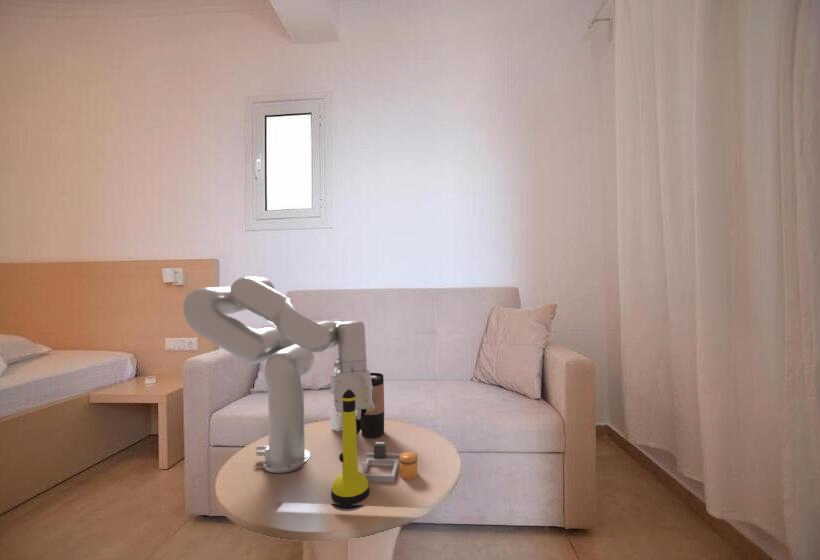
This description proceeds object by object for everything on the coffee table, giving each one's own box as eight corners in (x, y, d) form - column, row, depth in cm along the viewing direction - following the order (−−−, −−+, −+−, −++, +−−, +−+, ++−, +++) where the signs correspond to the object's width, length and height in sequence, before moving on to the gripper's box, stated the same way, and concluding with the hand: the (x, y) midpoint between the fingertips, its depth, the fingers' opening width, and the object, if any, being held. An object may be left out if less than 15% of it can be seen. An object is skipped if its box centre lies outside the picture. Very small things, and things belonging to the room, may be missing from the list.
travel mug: (364, 432, 118) (363, 372, 119) (386, 433, 117) (385, 372, 118) (358, 442, 111) (357, 378, 111) (381, 443, 110) (380, 378, 110)
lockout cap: (398, 484, 87) (398, 460, 87) (401, 474, 91) (400, 451, 91) (417, 485, 86) (416, 460, 87) (418, 475, 91) (417, 451, 91)
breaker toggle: (373, 462, 95) (373, 445, 96) (376, 456, 98) (375, 440, 98) (384, 462, 95) (384, 445, 95) (386, 457, 98) (386, 440, 98)
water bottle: (327, 434, 117) (326, 358, 118) (335, 426, 124) (334, 354, 125) (347, 435, 116) (346, 359, 117) (353, 427, 123) (352, 355, 123)
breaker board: (338, 485, 87) (338, 474, 87) (353, 457, 101) (353, 448, 101) (395, 487, 86) (394, 476, 86) (401, 459, 100) (401, 449, 100)
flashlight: (369, 384, 86) (333, 384, 86) (366, 395, 77) (325, 396, 77) (371, 487, 86) (334, 488, 86) (368, 510, 77) (326, 511, 77)
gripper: (322, 369, 95) (325, 438, 94) (377, 368, 93) (380, 438, 93) (331, 363, 102) (334, 427, 102) (381, 362, 101) (385, 426, 101)
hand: (356, 432), depth 98 cm, fingers closed
